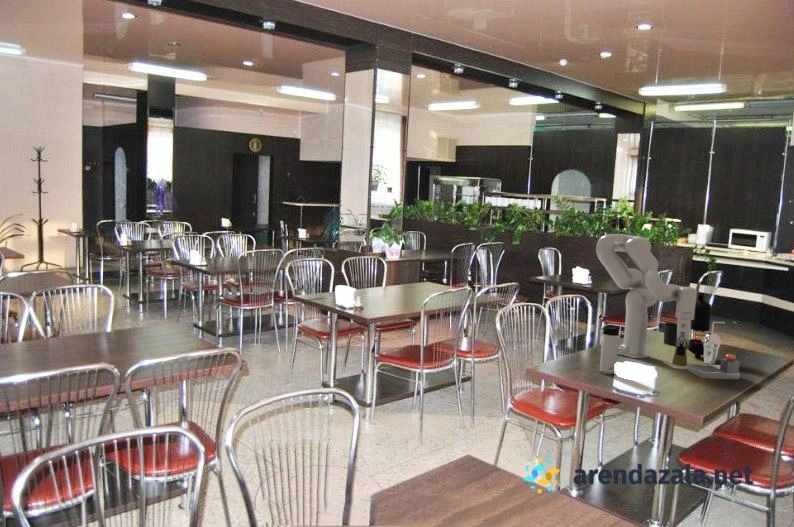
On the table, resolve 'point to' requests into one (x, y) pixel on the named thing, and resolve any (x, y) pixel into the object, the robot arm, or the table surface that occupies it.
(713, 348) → the cup with straw
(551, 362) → the table surface
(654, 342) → the table surface
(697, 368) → the housing
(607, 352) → the travel mug
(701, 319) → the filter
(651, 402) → the table surface
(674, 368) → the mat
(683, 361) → the brown waisted column
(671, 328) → the pen holder
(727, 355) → the plunger
